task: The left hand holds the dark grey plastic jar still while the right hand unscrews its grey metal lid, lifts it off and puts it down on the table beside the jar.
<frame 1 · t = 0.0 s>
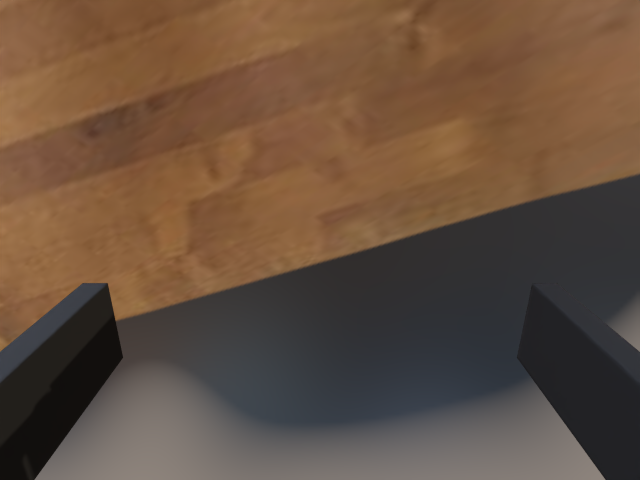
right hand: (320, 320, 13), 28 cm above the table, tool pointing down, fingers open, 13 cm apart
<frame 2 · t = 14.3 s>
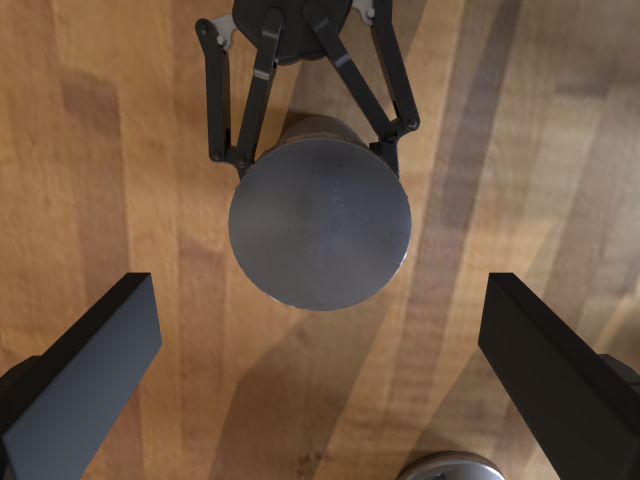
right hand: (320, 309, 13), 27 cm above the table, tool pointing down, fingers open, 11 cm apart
left hand: (328, 230, 34), fingers closed on jar, 9 cm apart
lid: (320, 229, 21), point 19 cm above the table, screwed on, not yet turned
jar: (320, 162, 39), on the table, touching left hand
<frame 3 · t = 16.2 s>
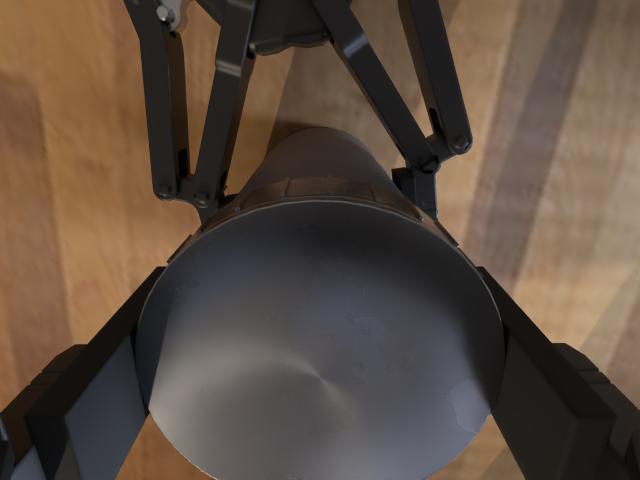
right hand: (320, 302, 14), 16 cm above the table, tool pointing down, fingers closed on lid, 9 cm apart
left hand: (332, 292, 24), fingers closed on jar, 9 cm apart
lid: (320, 368, 11), point 19 cm above the table, screwed on, not yet turned, touching right hand
jar: (320, 190, 29), on the table, touching left hand
when the right hand's fingers open (1 cm above the table, at t = 24.4 s): lid drops 2 cm, point 2 cm above the table.
when the left hand's fingers open (7 cm above the table, at t = 26.1 s): jar stays where it is, on the table.
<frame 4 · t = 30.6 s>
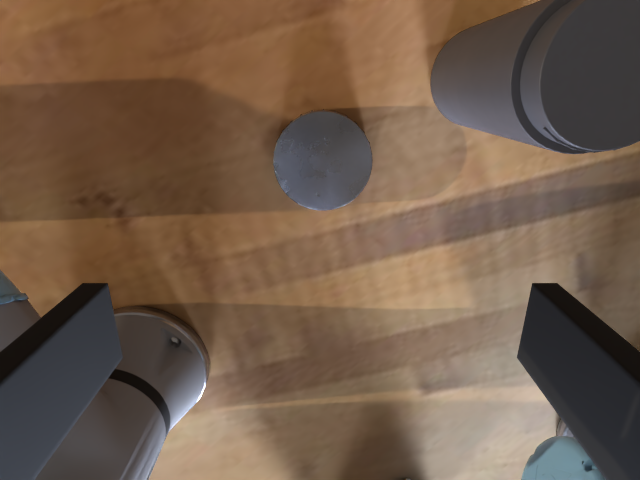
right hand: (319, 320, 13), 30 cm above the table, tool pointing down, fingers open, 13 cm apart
lid: (322, 162, 39), point 2 cm above the table, off its thread
jar: (477, 78, 38), on the table
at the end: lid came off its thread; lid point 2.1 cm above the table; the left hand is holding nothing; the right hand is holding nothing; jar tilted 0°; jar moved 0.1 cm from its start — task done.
